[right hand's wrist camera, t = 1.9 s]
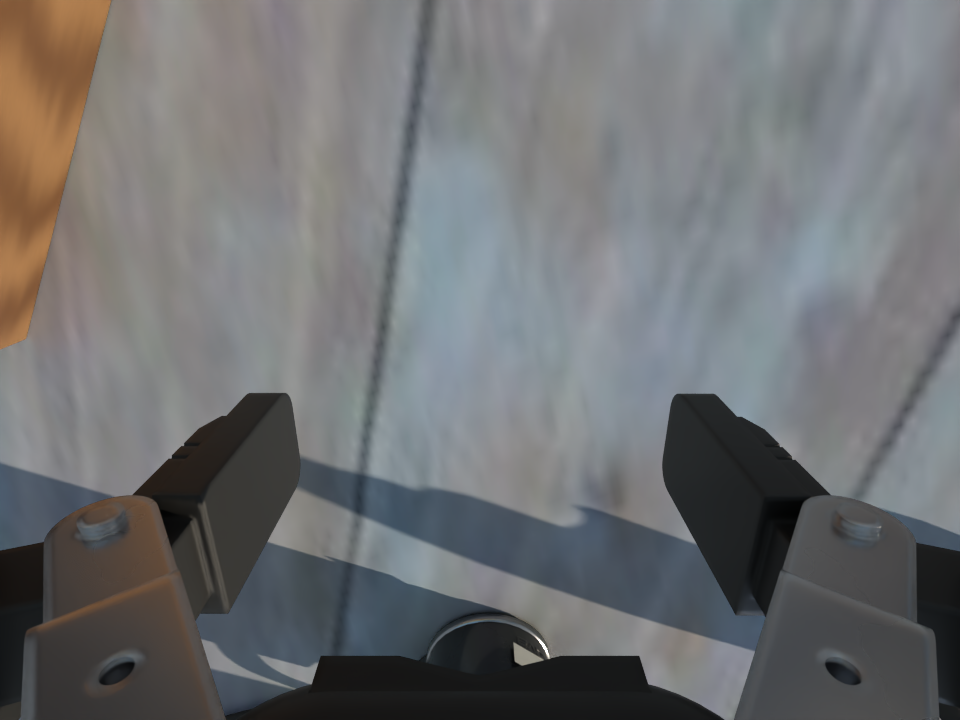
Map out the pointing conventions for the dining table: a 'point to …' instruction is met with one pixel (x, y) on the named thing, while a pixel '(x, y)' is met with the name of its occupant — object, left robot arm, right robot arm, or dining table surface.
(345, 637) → the dining table surface
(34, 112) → the post
